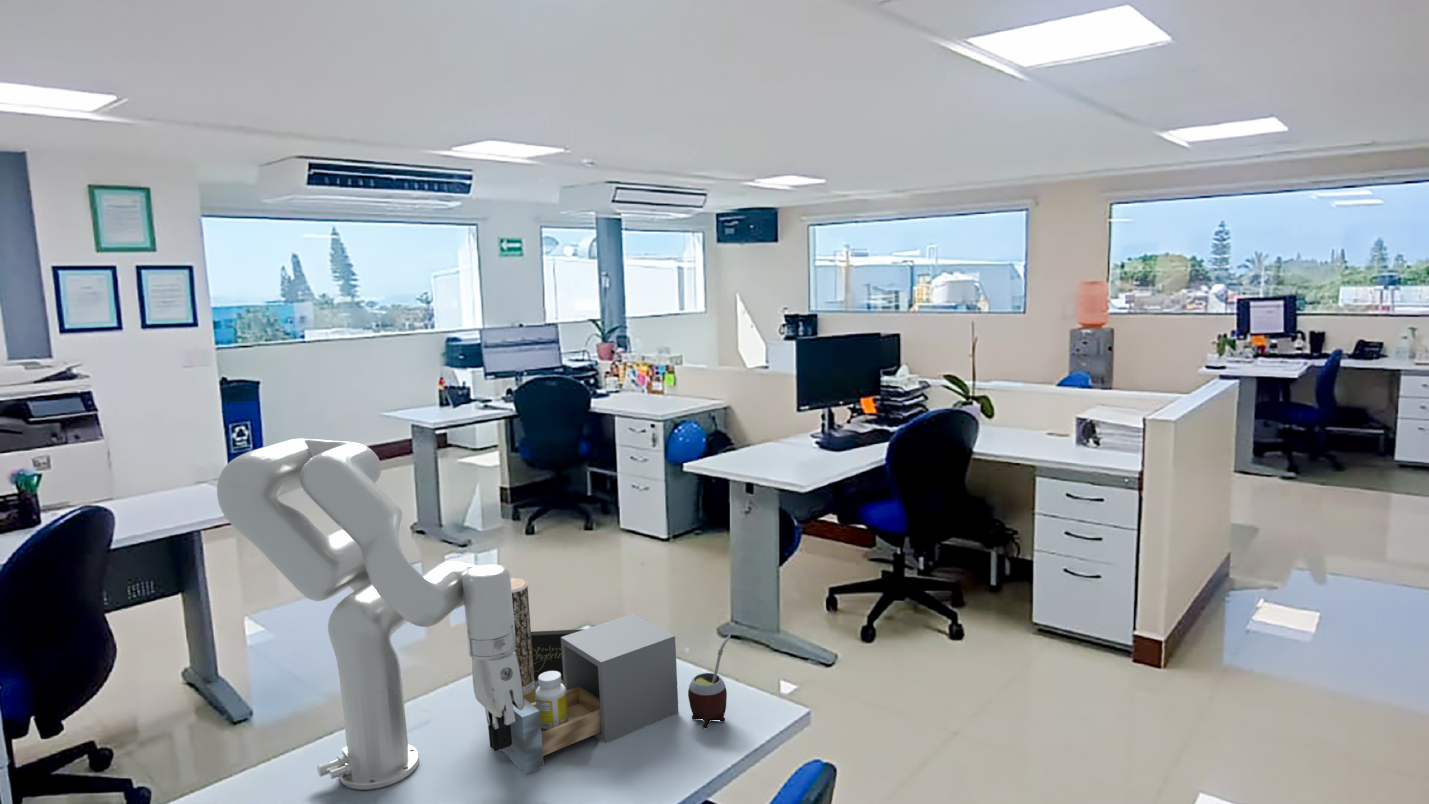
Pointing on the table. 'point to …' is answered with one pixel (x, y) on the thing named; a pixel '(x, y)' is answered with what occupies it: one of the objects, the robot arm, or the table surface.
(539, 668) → the nameplate
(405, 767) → the robot arm
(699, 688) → the mate gourd
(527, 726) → the drawer
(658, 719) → the cabinet
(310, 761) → the table surface
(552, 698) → the supplement bottle
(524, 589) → the brown bark cylinder
